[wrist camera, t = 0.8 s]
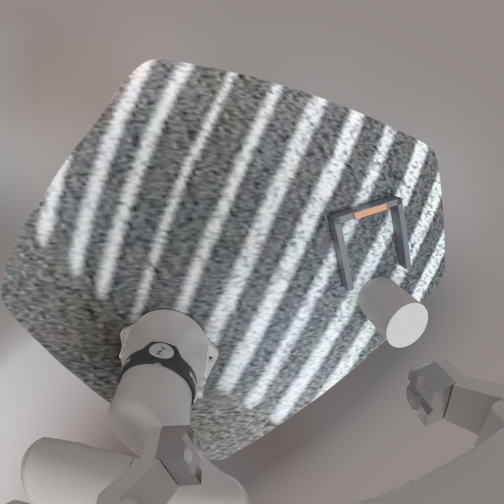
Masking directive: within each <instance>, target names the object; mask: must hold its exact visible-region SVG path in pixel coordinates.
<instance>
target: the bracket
mask: <svg viewBox="0 0 504 504" xmlns="http://www.w3.org/2000/svg"><path fill="white" fill-rule="evenodd" d="M387 208H390V209H391V214H392V220H393V226H394V233H395V240H396V247H397V254H398V262H399V265H401V266H403V267H404V268H406V269H408V268H411V262H410V253H409V245H408V237H407V229H406V222H405V216H404V210H403V204H402V198H400V197H396V196H390V197H387V198H384V199H380V200H377V201H374V202H370V203H367V204H364V205H360V206H357V207H354V208H350V209H347V210H344V211H341V212H337V213H334V214H331V215H327V216H328V220H329V224H330V229H331V233H332V237H333V242H334V246H335V251H336V255H337V260H338V265H339V270H340V275H341V280H342V285H343V286H344V287H345V288H346V289H347V290H348V291H351V290H353V289H354V288H353V283H352V277H351V272H350V267H349V261H348V256H347V251H346V246H345V242H344V237H343V232H342V228H341V223H342V222H345V221H348V220H351V219H358V218H361V217H364V216H367V215H370V214H374V213H377V212H380V211H383V210H386V209H387Z"/></svg>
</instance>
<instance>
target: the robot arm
mask: <svg viewBox="0 0 504 504" xmlns="http://www.w3.org/2000/svg"><path fill="white" fill-rule="evenodd" d="M120 338H121V343H122V349H121V352H120V355H119V358H120V359H121V363H122V368H121V371H120V376H119V380H118V383H119V385H118V387H117V390H116V392H115V395H114V397H113V400H112V402H111V405H110V407H109V422H110V425H111V428H112V429H113V431H114V433H115V434H116V436H117V437H118V438H119V440H120V441H121V442H122V443H123V444H124V445H125V446H126V447H128V448H129V449H130V450H132V451H133V452H135V453H136V454H137V455H139V456H140V457H141V458H138V457H135V458H134V457H130V456H125V455H122V454H118V453H114V452H110V451H107V450H103V449H99V448H96V447H93V446H89V445H87V444H83V443H80V442H73V441H68V440H62V439H55V438H49V437H43V438H41V439H39V440H37V441H35V442H34V443H33V444H32V445H31V446H30V447H29V448H28V449H27V451H26V452H25V454H24V457H23V459H22V464H21V479H22V484H23V487H24V490H25V492H26V494H27V496H28V498H29V499H30V501H31V502H32V503H33V504H251V501H250V498H249V496H248V494H247V492H246V491H245V489H244V488H243V487H242V486H241V485H240V483H239V482H238V481H237V480H235V479H234V478H232V477H231V476H229V475H227V474H225V473H224V472H222V471H220V470H219V469H218V468H217V467H215V466H214V465H213V464H212V463H211V462H210V461H209V460H208V459H207V458H206V457H205V456H204V455H203V454H202V450H201V446H200V443H199V441H198V439H197V438H195V437H194V436H193V435H194V431H193V429H192V427H191V406H192V405H193V403H194V402H195V401H196V400H197V398H202V396H203V393H204V388H203V386H205V384H206V380H207V378H208V376H209V374H210V372H211V370H212V367H213V365H214V363H215V361H216V359H217V357H218V355H219V349H218V348H217V347H216V346H215V345H214V344H213V343H211V342H210V341H209V340H208V339H207V337H206V335H205V333H204V331H203V330H202V328H201V327H200V326H199V325H198V324H197V322H195V321H194V320H193V319H192V318H190V317H189V316H187V315H185V314H183V313H180V312H178V311H174V310H167V309H161V310H154V311H151V312H148V313H146V314H145V315H143V316H142V317H140V318H139V319H138V320H137V321H136V322H135V323H134V324H133V325H130V326H127V327H125V328H123V329H122V330H121V333H120ZM209 356H211V357H212V358H209ZM408 379H409V380H410V382H411V383H410V384H409V385H408V387H407V399H408V402H409V404H410V406H411V407H412V409H415V410H418V417H419V418H420V420H421V421H422V423H423V424H424V425H425V427H426V426H428V425H430V424H433V423H435V422H437V421H439V420H441V419H443V418H444V420H446V421H448V422H450V423H453V424H455V425H457V426H459V427H461V428H464V429H466V430H468V431H471V432H473V433H475V434H477V435H479V436H478V438H477V440H476V442H475V444H474V448H472V449H470V450H469V451H467V452H466V453H464V454H462V455H461V456H459V457H457V458H455V459H454V460H452V461H450V462H449V463H447V464H445V465H443V466H441V467H439V468H437V469H435V470H433V471H431V472H429V473H427V474H425V475H423V476H421V477H419V478H417V479H415V480H412V481H410V482H408V483H406V484H403V485H401V486H399V487H396V488H394V489H392V490H389V491H387V492H384V493H381V494H379V495H377V496H373V497H371V498H368V499H365V500H362V501H359V502H356V503H353V504H504V385H503V384H499V383H494V382H490V381H485V380H481V379H477V378H473V377H467V378H466V377H465V376H464V375H463V374H462V373H461V372H460V371H459V370H458V369H457V368H456V367H455V366H454V365H452V363H450V362H449V361H448V360H447V359H446V358H445V357H441V358H439V359H437V360H434V361H432V362H430V363H428V364H426V365H423V366H421V367H418V368H416V369H414V370H411V371H410V373H409V378H408ZM7 504H29V503H26V502H23V501H19V500H12V501H11V502H9V503H7Z"/></svg>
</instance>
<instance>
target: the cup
mask: <svg viewBox="0 0 504 504" xmlns="http://www.w3.org/2000/svg"><path fill="white" fill-rule="evenodd" d="M358 303H359V307H360V309H361V311H362V312H363V313H364V314H365V315H366V316H367V317H368V319H369V320H370V321H371V322H372V323H373V324H374V326H375V327H376V328H377V329H378V330H379V331H380V333H381V334H382V335H383V336H384V337H385V339H386V340H387V341H388V342H389V343H390V344H391V345H392V346H394V347H405V346H408V345H410V344H412V343H413V342H415V341H416V340H417V339H418V338H419V337H420V336H421V334H422V333H423V331H424V330H425V327H426V325H427V321H428V313H427V310H426V308H425V307H424V306H423V305H422V304H421V303H419V302H418V301H417V300H416V299H414V298H413V297H412V296H411V295H409V294H408V293H407V292H406V291H404V290H403V289H402V288H401V287H399V286H398V285H397V284H395V283H394V282H393V281H392V280H390V279H389V278H387V277H383V276H379V277H375V278H373V279H371V280H369V281H368V282H367V283H366V284H365V285H364V286H363V288H362V289H361V291H360V294H359V298H358Z"/></svg>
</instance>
